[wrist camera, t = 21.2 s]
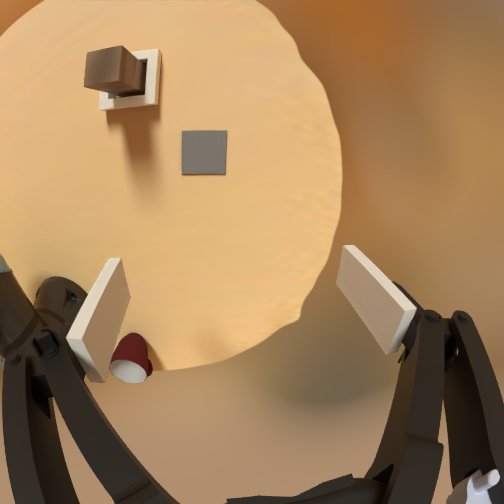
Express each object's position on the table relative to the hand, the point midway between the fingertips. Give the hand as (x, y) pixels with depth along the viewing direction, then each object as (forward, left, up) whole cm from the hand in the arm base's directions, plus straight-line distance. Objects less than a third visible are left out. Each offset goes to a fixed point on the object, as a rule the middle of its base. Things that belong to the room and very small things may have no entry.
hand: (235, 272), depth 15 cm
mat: (-2, +4, -30) cm, 31 cm away
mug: (-18, -36, -31) cm, 51 cm away
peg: (-14, +16, -30) cm, 37 cm away
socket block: (-14, +16, -30) cm, 37 cm away
